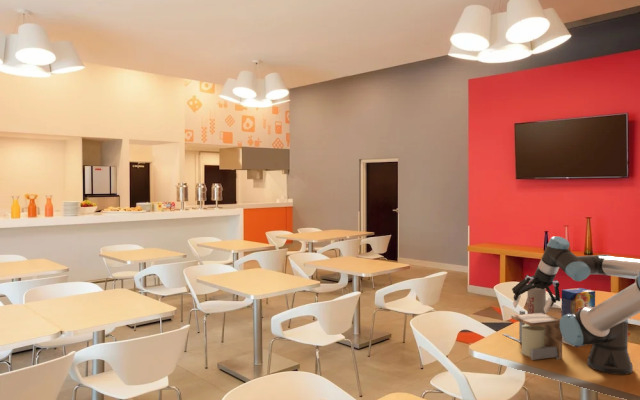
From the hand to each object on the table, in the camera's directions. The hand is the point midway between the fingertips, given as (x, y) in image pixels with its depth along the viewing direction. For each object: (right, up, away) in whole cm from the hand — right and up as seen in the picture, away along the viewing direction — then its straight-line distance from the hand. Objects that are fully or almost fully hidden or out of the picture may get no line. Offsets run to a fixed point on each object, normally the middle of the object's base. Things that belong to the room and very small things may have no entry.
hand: (529, 308), depth 206 cm
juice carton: (+25, -17, +6) cm, 31 cm away
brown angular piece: (-4, -17, 0) cm, 18 cm away
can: (-2, -18, -8) cm, 20 cm away
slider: (-3, -17, -5) cm, 18 cm away
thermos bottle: (+12, -17, +20) cm, 29 cm away
